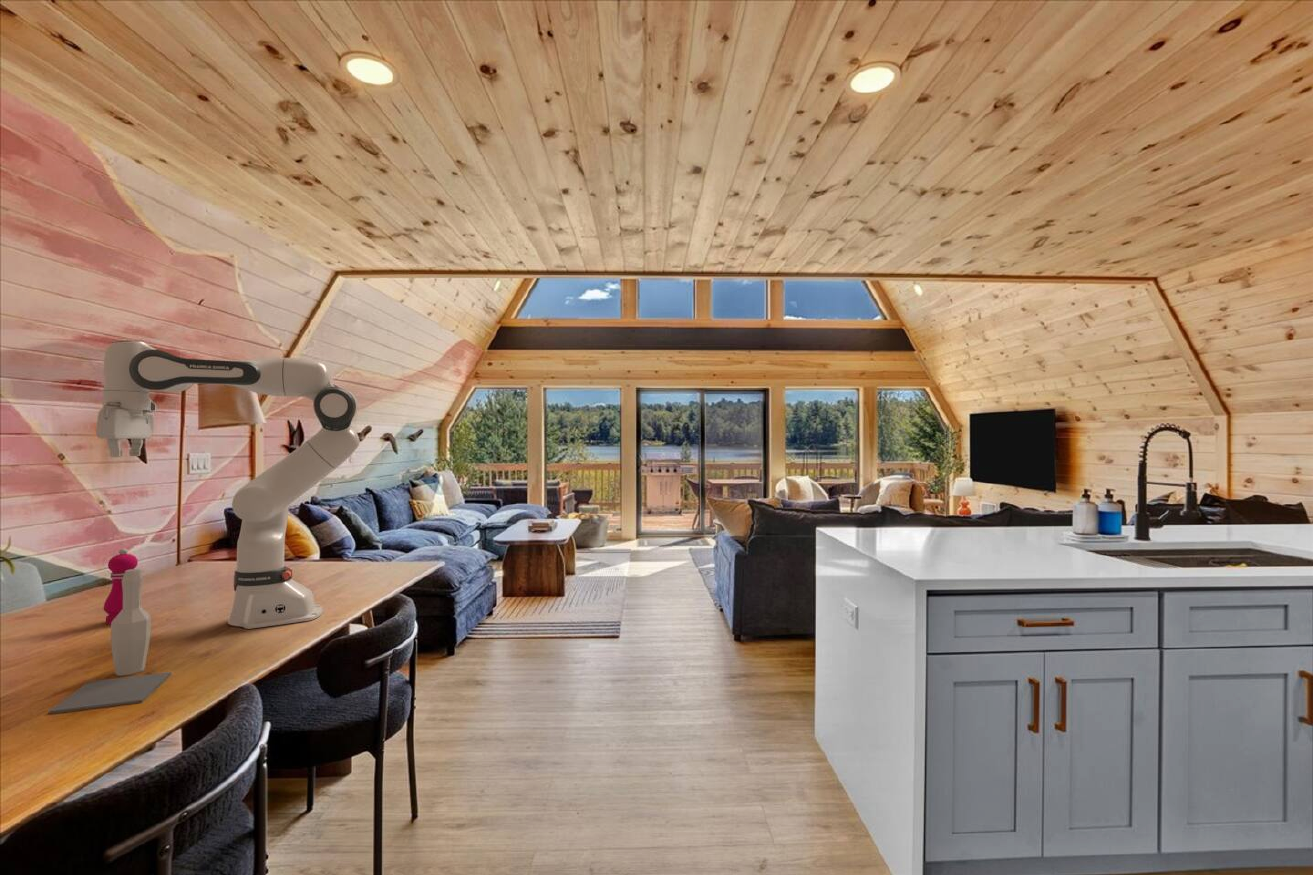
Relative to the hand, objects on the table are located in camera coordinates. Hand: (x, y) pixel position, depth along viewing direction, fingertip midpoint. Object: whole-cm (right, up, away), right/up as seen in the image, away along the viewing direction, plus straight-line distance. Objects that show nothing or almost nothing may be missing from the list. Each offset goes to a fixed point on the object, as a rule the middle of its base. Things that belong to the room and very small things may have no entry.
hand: (125, 456), depth 146 cm
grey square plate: (+30, -46, -34) cm, 64 cm away
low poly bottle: (+23, -46, -23) cm, 57 cm away
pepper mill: (-10, -46, +9) cm, 48 cm away
